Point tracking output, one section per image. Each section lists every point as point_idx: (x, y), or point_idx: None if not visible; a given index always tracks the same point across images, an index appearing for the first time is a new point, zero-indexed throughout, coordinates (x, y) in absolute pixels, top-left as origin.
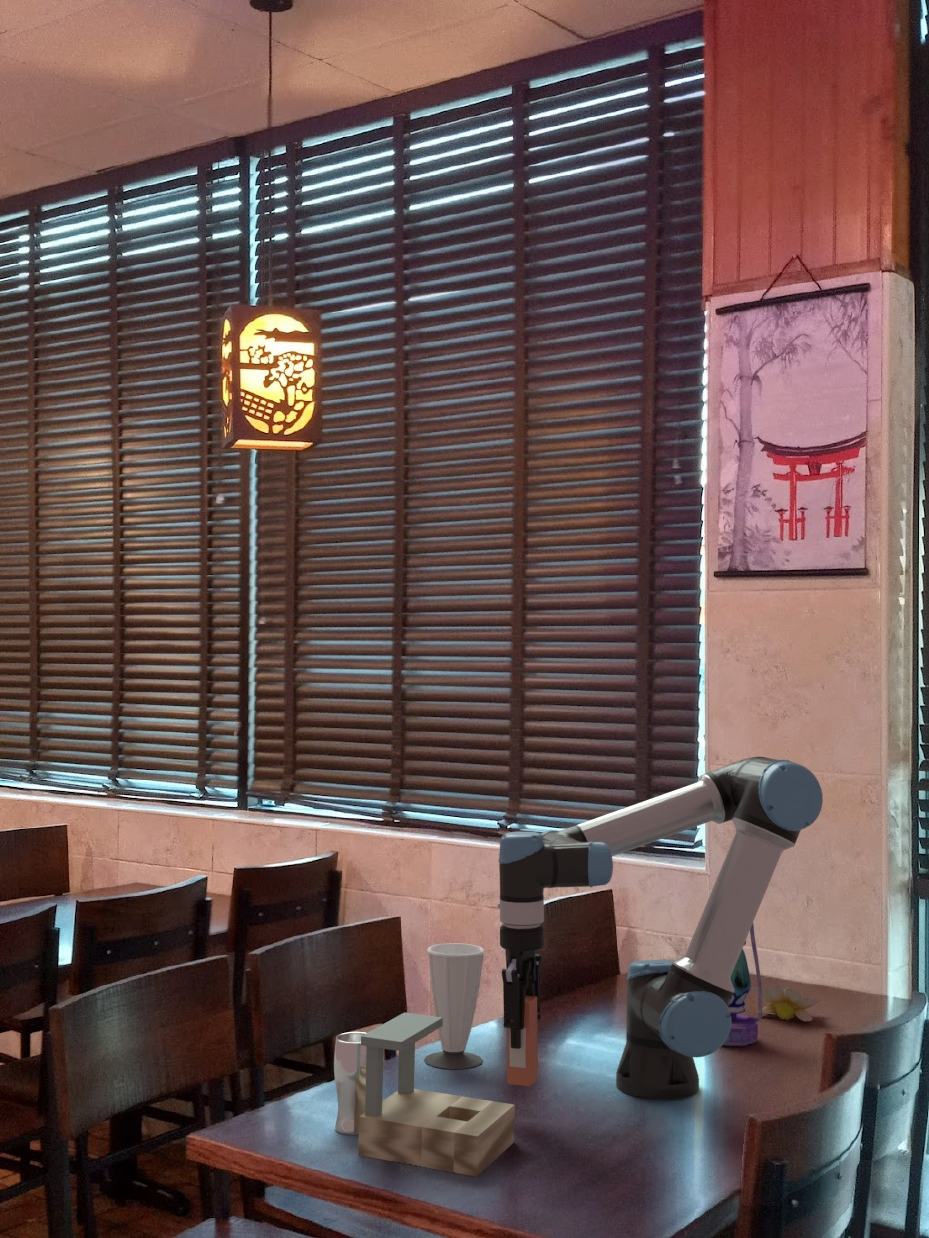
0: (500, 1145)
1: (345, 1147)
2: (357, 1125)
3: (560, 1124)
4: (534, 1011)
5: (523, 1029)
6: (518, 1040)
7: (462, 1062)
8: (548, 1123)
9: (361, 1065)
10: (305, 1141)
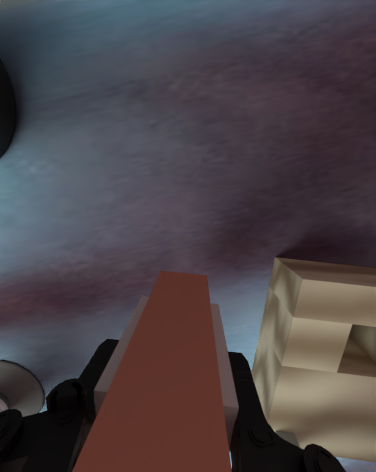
0: (336, 267)
1: None
2: None
3: (183, 212)
4: (131, 469)
5: (237, 407)
6: (252, 379)
7: (16, 382)
8: (186, 230)
9: None
10: None
